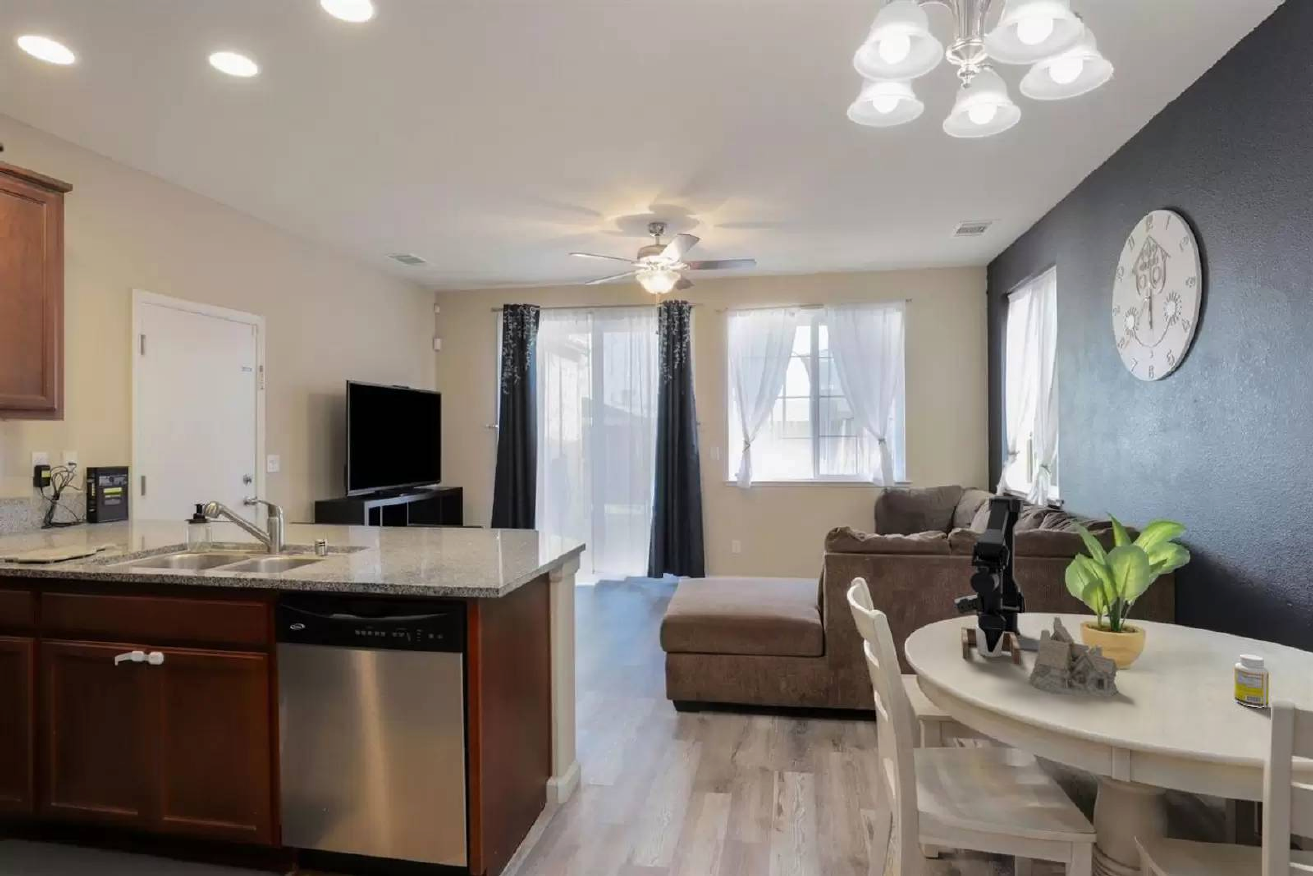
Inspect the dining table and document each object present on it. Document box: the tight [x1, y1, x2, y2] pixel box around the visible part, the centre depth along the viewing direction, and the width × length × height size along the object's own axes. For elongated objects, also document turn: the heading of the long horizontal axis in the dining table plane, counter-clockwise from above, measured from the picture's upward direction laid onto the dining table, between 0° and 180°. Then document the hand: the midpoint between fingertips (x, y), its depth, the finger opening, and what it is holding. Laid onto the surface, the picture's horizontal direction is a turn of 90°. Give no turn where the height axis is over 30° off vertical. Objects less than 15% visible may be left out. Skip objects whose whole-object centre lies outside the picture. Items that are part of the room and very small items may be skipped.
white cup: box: [974, 623, 1004, 658], centre depth 183 cm, size 7×7×7 cm
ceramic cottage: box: [1028, 616, 1119, 697], centre depth 159 cm, size 16×16×15 cm
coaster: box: [1016, 637, 1039, 653], centre depth 189 cm, size 9×9×1 cm
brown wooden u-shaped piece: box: [961, 626, 1021, 665], centre depth 183 cm, size 16×13×4 cm
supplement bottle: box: [1234, 654, 1270, 707], centre depth 149 cm, size 6×6×10 cm
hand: (989, 647), depth 183 cm, fingers open, 9 cm apart
